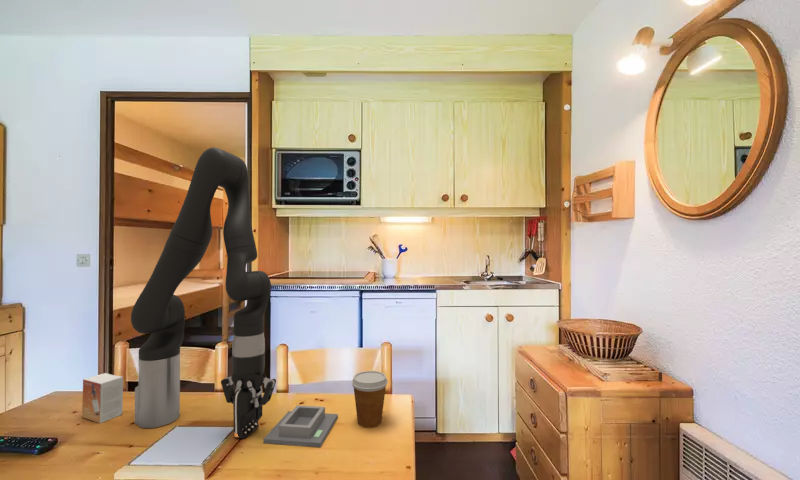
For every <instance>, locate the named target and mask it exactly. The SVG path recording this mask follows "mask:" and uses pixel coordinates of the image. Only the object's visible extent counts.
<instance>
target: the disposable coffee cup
mask: <svg viewBox="0 0 800 480" xmlns="http://www.w3.org/2000/svg"><path fill="white" fill-rule="evenodd" d="M351 385H352V387H353V392H354V393H353V394H354V401H355V410H356V419H357V424H358V426H360V427H362V428H367V429H369V428H376V427H378V426H379V425H381V424H382V421H383V420H382V419H383V411H384V405H385V395H386V386H387V385H388V378H387V375H386V374H385V373H384V372H381V371H377V370H365V371H360V372H358V373H355V374H354V376H353V379H351Z"/></svg>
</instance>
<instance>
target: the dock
mask: <svg viewBox="0 0 800 480" xmlns="http://www.w3.org/2000/svg"><path fill="white" fill-rule="evenodd" d="M338 418H339V414H337V413H326V407H325V406H317V405H316V406H313V405H296V406H295V407H294V408H293V410H289V411H287V412H286V413H285V414H284V415H283V417H282V418H281V419H280V420H279V421H278V422H277V423H276V424H275V425H274V426H273V428H272V429H271V430H270V431H269V432H268V433H267V434H266V436H264V438H263V441H262V442H263V443H262V444H269V445H270V444H272V445H283V446H285V445H286V446H295V447H296V446H297V447H298V446H299V447H309V448H310V447H311V448H321V447H322V446H323V443H324V442H325V440H326V439H327V437H328V435H329V434H330V431H332V428H333V427H334V425H335V424H336V422H337V420H338Z"/></svg>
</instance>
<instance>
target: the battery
mask: <svg viewBox="0 0 800 480" xmlns="http://www.w3.org/2000/svg"><path fill="white" fill-rule="evenodd" d="M235 391H236V390H235ZM257 391H258V390H257ZM257 391H256V392H257ZM232 405H233V407H232V408H233V409H232V410H233V411H232V412H233V416H232V417H233V433H234V432H235V433H237V434H238V436H239V438H238V439H245V438H248V436H251V434H252V433H254V432H255V431H256V430H257V429H258V427H259V426H260V425H259V424H260V423H259V420H258V421H257V422H254V421H253V416H254V407H255V406H254V402H253V399H252V398H251V394H250V391H249V389H241V390H239V389H238V390H237V391H236V392H235V394H234V401H233V404H232Z"/></svg>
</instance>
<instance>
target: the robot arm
mask: <svg viewBox="0 0 800 480" xmlns="http://www.w3.org/2000/svg"><path fill="white" fill-rule="evenodd" d="M219 187H220V188H223V189H224V190H223V191H224V192H225V195H226V197H227V205H228V208H227V213H226V217H225V220H224V222H223V223H224V224H223V229H222V235H223V237H222V238H223V243H224V247H225V251H226V252H225V253H226V256H227V263H226V273H225V274H226V275H225V284H224V285H225V286H224V287H225V291H226V293H227V296H228V297H229V298H230V299H231V300H232V301H234V302H244V301H247V303H246V305H245V306H244V307H243V308H241V309H239V310H237V311H235V313H234V314H233V335H232V336H233V338H232V344H231V345H232V346H231V347H232V349H231V350H232V351H231V352H232V353H231V354H232V355H231V359H232V361H231V364H232V365H231V371H232V374H231V376H230V375H228V376H226V377H224V378H223V379H221V381H220V385H221V386H222V387H221V388H222V391H223V394H224V397H225V402H226V403H228V404H232V405H233V401H234V394H235V392H236V391H237V390H238V389H239V390H241V389H249V391H250V394H251V398H252V399H253V402H254V406H255V407H254V416H253V421H254V422H257V421H258V422H259V421H260V420H261V418H262V417H263V406H265V405H266V404H267V403H268V402H270V401H271V398H272V396H273V393H274V389H275V387H276V383H277V379H276V378H272V379H271V378H268V377H267V376H266V374H265V367H266V366H265V365H266V358H265V357H266V355H265V354H266V343H265V342H266V339H265V332H264V331H265V327H264V326H265V313H266V311H267V307H268V303H269V299H270V295H271V291H272V283H271V279H270V277H269V274H267V273H266V272H265V271H262V270H254V271H253V270H252V271H246V268H247V264H250V263H252V262H255V261H256V259H257V258H258V251H257V244H256V241H255V237H254V232H253V228H252V220H251V211H250V210H251V209H250V207H251V206H250V193H249V191H250V190H249V189H250V186H249V173H248V167H247V164H246V163H245V161H244V160H243V159H242V158H241V157H239V156H237V155H235V154H233V153H231V152H228V151H226V150H224V149H221V148H218V147H214V146H213V147H209V148H207V149H205V150H204V151H203V152H202V154H201V155H200V156H199V158H198V160H197V162H196V164H195V167H194V170H193V173H192V178H191V180H190V183H189V186H188V190H187V192H186V196H185V198H184V201H183V203H182V205H181V208H180V211H179V213H178V216H177V218H176V220H175V222H174V224H173V226H172V228H171V230H170V232H169V236H168V237H167V240H166V241H165V243H164V244H165V245H164V247H163V250H162V252H161V254H160V256H159V258H158V261H157V263H156V265H155V266H154V269H153V271H152V274H151V275H150V277H149V279H148V281H147V283H146V284H145V286H144V287H143V290H142V291H141V292H140V294H139V296H138V298H137V299H136V301H135V303H134V305H133V307H132V310H131V314H130V323H131V325H132V328H133V329H134V330H135V331H136V332H137V333H140V334H144V335H146V334H148V335H150V336H149V337H148V339H147V340H146V341H145V342H144V343H143V344H142V345H141V346H140V347H139V349H138V385H137V386H135V387H134V425H137V426H138V427H140V428H142V429H154V428H159V427H163V426H165V425H166V426H167V425H169V424H171V423H174V422H175V421H176V420H177V419H179V418H180V413H181V409H180V407H181V403H180V402H181V346H182V344H183V343H184V337H185V325H186V324H185V322H186V321H185V320H186V311H185V305H184V303H183V300H182V299H181V298H180V297H179V296H177V295H176V294H175V293H176V290H177V289H178V287H179V286H180V284H181V283H182V282H183V281H184V280H185V279H186V278H187V276H189V274H190V273H191V272H193V270H194V269H195V268H196V267H197V266H198V265H199V264H200V262H201V260H202V259H203V258H204V255H205V253H206V251H207V249H208V247H209V244H210V242H211V240H212V237H213V236H212V235H213V223H212V222H213V221H212V216H211V207H212V203H213V199H214V198H215V197H214V196H215V193H216V192H217V190H218V188H219ZM262 385H264V386H263V387H264V391H263V387H262ZM234 386H235V387H234ZM257 390H258V391H257ZM256 391H257V392H256Z"/></svg>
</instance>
